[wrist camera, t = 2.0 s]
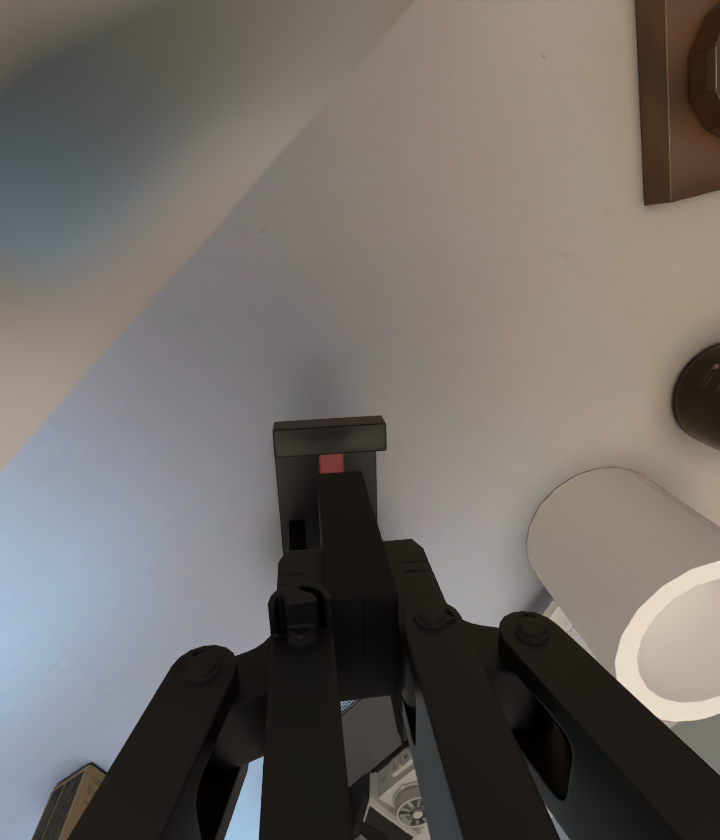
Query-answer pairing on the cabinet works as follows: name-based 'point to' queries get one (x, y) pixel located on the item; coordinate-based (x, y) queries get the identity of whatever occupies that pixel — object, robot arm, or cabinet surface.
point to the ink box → (68, 804)
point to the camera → (381, 772)
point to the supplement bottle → (701, 398)
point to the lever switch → (312, 495)
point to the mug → (635, 586)
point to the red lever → (329, 439)
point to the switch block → (679, 97)
